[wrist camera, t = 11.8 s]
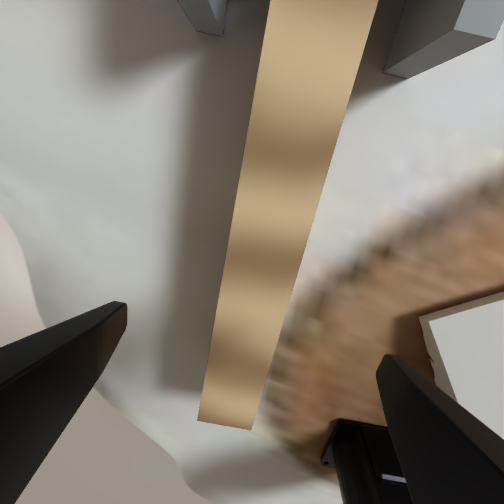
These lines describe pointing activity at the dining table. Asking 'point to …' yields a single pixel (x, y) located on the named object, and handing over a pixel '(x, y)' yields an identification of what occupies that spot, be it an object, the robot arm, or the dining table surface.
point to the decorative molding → (470, 356)
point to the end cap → (402, 29)
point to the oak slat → (279, 190)
